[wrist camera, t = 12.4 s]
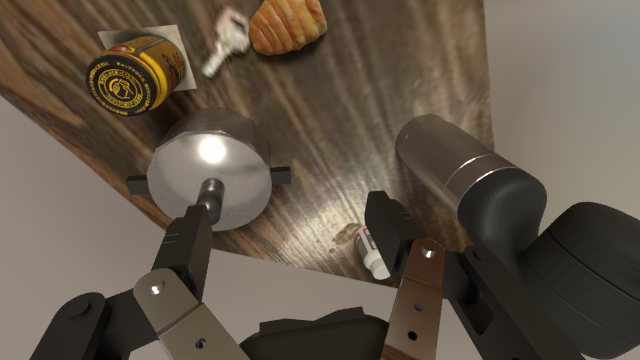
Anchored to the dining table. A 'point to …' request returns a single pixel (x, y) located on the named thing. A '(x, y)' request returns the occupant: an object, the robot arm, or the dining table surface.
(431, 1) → the dining table surface
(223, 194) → the lid
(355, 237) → the pill bottle
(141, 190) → the pot
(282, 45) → the pastry
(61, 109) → the dining table surface
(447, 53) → the dining table surface
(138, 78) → the condiment
